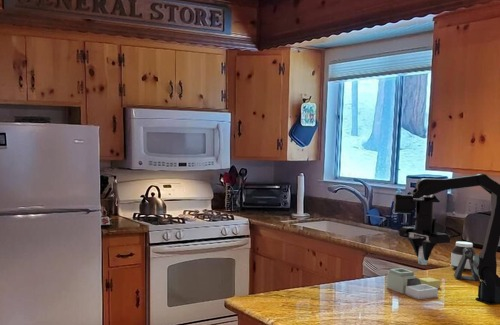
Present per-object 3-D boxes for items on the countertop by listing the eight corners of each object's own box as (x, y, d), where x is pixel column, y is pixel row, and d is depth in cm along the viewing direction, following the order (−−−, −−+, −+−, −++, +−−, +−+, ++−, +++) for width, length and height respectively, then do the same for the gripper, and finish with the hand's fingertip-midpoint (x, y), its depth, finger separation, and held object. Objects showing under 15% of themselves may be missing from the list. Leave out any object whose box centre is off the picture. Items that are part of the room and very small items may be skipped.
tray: (437, 297, 174) (438, 288, 174) (418, 299, 171) (418, 290, 170) (424, 292, 180) (425, 284, 180) (405, 294, 176) (405, 286, 176)
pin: (429, 264, 174) (429, 247, 174) (422, 265, 173) (423, 247, 173) (422, 262, 177) (423, 245, 177) (416, 263, 176) (416, 246, 176)
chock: (439, 288, 187) (440, 280, 187) (427, 289, 185) (427, 281, 185) (430, 285, 192) (430, 277, 191) (417, 286, 189) (418, 278, 189)
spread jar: (461, 272, 214) (462, 244, 214) (441, 266, 224) (442, 240, 224) (481, 270, 219) (483, 243, 219) (461, 264, 229) (462, 239, 229)
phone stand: (455, 279, 201) (457, 249, 201) (453, 275, 207) (455, 246, 207) (480, 281, 199) (481, 251, 199) (477, 277, 205) (478, 248, 204)
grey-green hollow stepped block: (420, 291, 181) (421, 272, 181) (402, 293, 177) (403, 273, 177) (404, 285, 188) (405, 267, 188) (386, 287, 184) (387, 268, 184)
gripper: (462, 217, 170) (461, 263, 170) (422, 210, 187) (420, 252, 187) (438, 218, 165) (436, 265, 165) (398, 211, 182) (397, 254, 182)
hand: (422, 259), depth 175 cm, fingers closed on pin, 3 cm apart
